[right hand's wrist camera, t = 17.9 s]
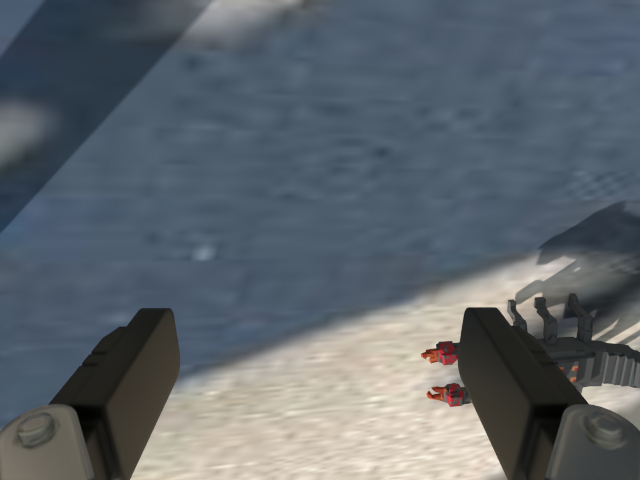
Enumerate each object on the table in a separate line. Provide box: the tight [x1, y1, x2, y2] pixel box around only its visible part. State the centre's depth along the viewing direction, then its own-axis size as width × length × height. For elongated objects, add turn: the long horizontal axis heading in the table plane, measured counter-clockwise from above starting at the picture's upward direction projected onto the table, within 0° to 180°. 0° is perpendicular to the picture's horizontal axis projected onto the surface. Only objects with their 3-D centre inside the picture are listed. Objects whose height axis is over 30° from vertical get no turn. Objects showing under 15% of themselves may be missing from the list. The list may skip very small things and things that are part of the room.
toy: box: [421, 294, 640, 407], centre depth 40 cm, size 13×27×18 cm, turn 96°
